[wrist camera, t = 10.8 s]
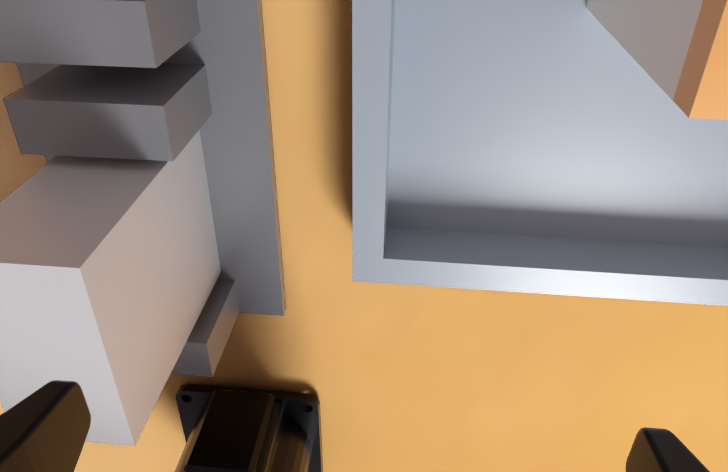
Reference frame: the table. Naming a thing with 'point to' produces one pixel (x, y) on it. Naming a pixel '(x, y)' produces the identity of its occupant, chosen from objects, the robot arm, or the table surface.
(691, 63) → the block
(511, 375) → the table surface
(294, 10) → the table surface
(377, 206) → the tray
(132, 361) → the block
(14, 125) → the clip block
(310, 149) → the table surface
